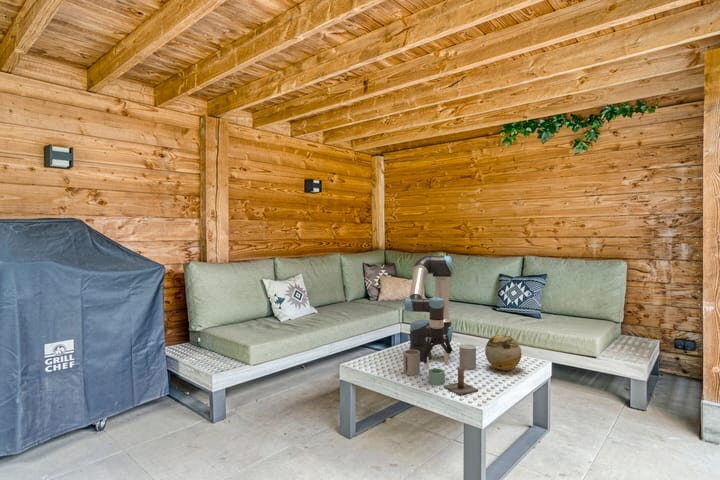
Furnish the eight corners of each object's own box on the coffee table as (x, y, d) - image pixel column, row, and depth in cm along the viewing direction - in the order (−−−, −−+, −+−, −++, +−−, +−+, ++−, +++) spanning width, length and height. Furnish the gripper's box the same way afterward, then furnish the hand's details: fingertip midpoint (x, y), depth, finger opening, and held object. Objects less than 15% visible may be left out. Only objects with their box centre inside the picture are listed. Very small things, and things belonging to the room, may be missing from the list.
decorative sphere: (482, 363, 251) (482, 330, 250) (516, 364, 249) (516, 331, 248) (489, 374, 231) (489, 339, 230) (525, 376, 229) (526, 340, 228)
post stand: (443, 387, 213) (443, 366, 212) (461, 383, 219) (461, 362, 218) (460, 396, 202) (460, 373, 202) (478, 391, 208) (478, 369, 208)
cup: (421, 371, 238) (421, 350, 237) (418, 376, 229) (418, 355, 229) (405, 369, 240) (405, 349, 240) (402, 374, 232) (401, 353, 232)
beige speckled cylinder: (476, 370, 238) (476, 349, 238) (459, 369, 240) (459, 348, 240) (475, 365, 247) (475, 344, 247) (459, 364, 249) (459, 343, 249)
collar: (425, 381, 222) (425, 370, 222) (437, 378, 226) (437, 367, 226) (435, 386, 215) (435, 374, 215) (447, 383, 219) (447, 371, 219)
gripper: (422, 331, 210) (422, 372, 210) (459, 325, 223) (459, 365, 223) (413, 328, 217) (413, 368, 217) (449, 323, 229) (449, 361, 229)
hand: (436, 367), depth 220 cm, fingers open, 13 cm apart
